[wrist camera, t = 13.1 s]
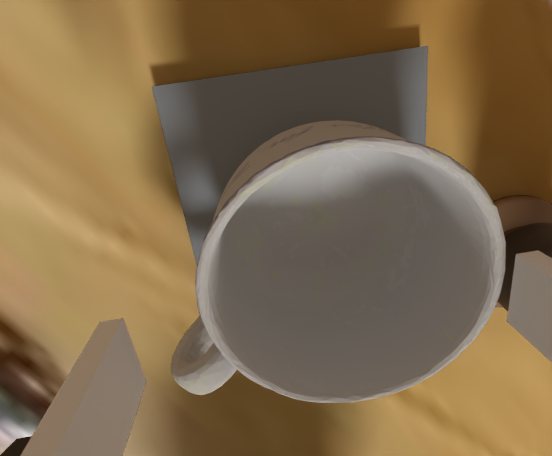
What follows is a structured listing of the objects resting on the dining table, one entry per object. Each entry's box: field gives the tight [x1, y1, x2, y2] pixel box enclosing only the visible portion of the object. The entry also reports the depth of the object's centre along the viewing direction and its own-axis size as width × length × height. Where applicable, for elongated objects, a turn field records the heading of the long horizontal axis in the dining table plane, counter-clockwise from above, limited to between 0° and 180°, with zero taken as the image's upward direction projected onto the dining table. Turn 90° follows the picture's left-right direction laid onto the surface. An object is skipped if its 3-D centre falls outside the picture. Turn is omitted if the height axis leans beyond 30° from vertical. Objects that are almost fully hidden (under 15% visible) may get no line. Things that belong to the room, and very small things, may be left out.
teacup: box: [171, 120, 506, 403], centre depth 16 cm, size 14×11×8 cm
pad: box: [152, 46, 428, 264], centre depth 20 cm, size 13×16×1 cm
